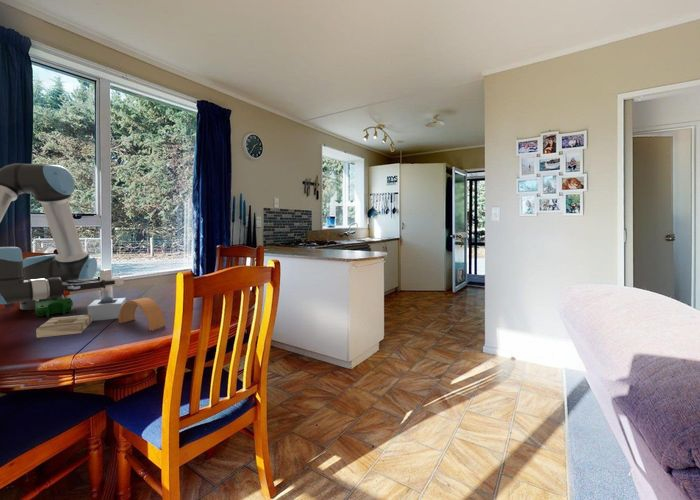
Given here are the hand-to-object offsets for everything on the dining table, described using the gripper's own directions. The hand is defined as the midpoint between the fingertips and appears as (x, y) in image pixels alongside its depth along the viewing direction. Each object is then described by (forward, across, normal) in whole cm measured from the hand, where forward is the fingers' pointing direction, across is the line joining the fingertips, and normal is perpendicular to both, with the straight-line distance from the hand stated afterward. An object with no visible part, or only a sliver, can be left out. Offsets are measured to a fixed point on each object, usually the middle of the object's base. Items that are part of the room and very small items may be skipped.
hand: (121, 280), depth 140 cm
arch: (0, +22, -15) cm, 27 cm away
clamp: (-19, -19, -15) cm, 30 cm away
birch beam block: (-20, +8, -14) cm, 26 cm away
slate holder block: (-5, 0, -14) cm, 15 cm away
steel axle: (-5, 0, -9) cm, 10 cm away
